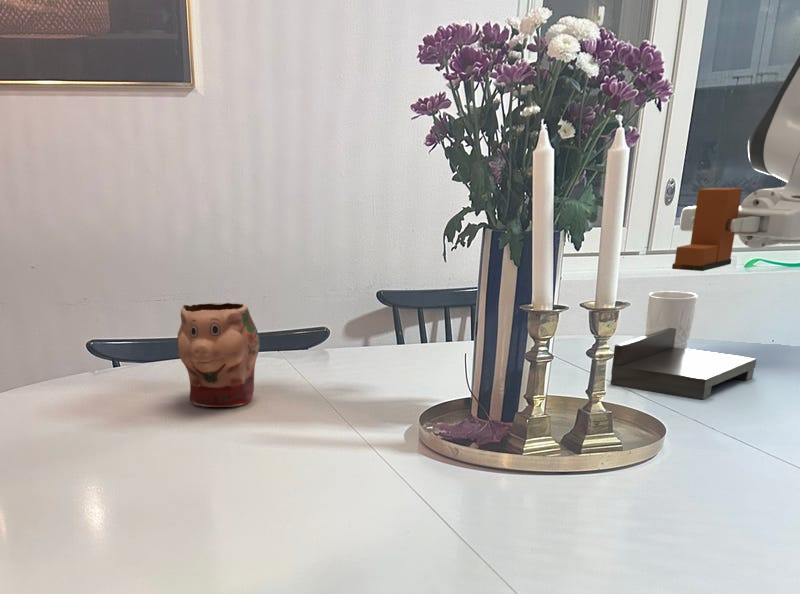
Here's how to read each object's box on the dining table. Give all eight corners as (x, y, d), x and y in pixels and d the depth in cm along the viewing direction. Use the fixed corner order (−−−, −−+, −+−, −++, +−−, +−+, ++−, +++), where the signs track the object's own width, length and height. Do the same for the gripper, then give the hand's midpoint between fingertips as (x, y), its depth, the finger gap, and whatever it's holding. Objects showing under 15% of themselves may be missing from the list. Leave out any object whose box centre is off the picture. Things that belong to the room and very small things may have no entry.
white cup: (697, 357, 162) (708, 296, 157) (660, 361, 160) (669, 299, 155) (668, 348, 168) (677, 290, 164) (631, 352, 166) (639, 293, 161)
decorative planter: (192, 384, 153) (184, 294, 146) (266, 382, 152) (262, 292, 146) (172, 416, 135) (162, 316, 129) (256, 415, 135) (251, 314, 128)
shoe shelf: (753, 377, 148) (760, 338, 145) (702, 399, 137) (709, 358, 134) (664, 364, 158) (669, 327, 155) (609, 384, 146) (614, 345, 144)
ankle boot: (730, 264, 149) (743, 187, 144) (702, 271, 143) (715, 191, 138) (700, 262, 153) (712, 187, 147) (671, 268, 146) (682, 191, 141)
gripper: (714, 195, 159) (660, 200, 152) (828, 199, 144) (774, 204, 137) (707, 235, 162) (654, 241, 155) (819, 243, 147) (765, 250, 140)
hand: (711, 224), depth 146 cm, fingers closed on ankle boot, 5 cm apart
